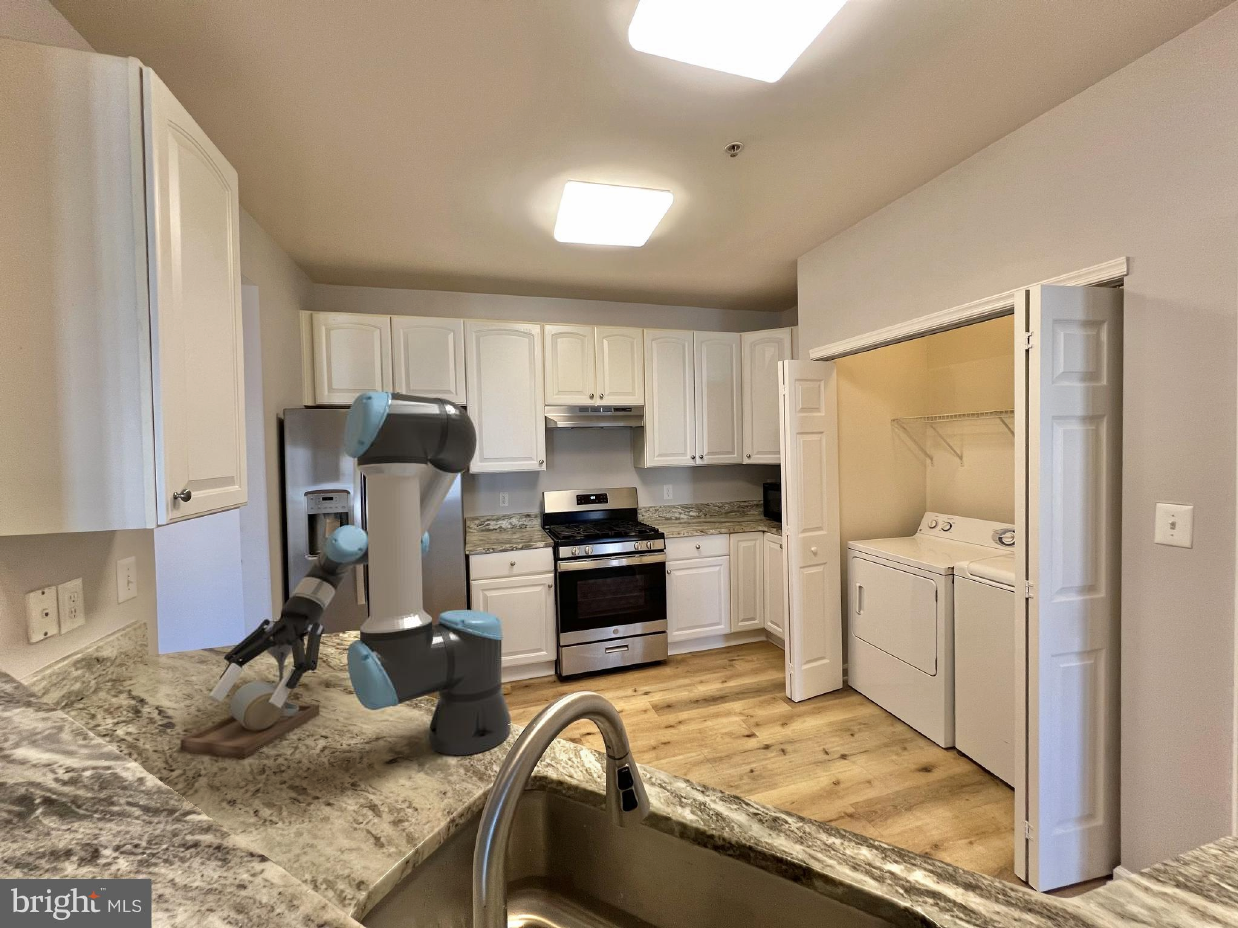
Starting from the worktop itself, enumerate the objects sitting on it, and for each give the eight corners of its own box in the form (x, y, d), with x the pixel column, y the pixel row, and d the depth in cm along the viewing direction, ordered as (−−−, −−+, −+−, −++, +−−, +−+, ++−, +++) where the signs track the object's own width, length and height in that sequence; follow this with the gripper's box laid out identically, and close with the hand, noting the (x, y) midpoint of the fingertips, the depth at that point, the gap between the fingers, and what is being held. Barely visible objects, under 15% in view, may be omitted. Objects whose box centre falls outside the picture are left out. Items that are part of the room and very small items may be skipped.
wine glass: (303, 687, 120) (304, 623, 121) (262, 696, 115) (263, 630, 115) (298, 677, 126) (298, 616, 127) (258, 685, 121) (259, 622, 121)
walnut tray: (319, 714, 106) (319, 704, 106) (244, 758, 90) (244, 747, 90) (263, 708, 109) (263, 699, 109) (180, 750, 93) (180, 739, 93)
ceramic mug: (243, 739, 94) (244, 697, 95) (228, 726, 99) (229, 686, 100) (305, 718, 103) (306, 679, 103) (289, 707, 108) (290, 670, 108)
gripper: (365, 615, 112) (311, 715, 97) (270, 609, 117) (204, 704, 102) (348, 596, 107) (288, 699, 92) (249, 591, 112) (177, 688, 97)
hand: (244, 702), depth 97 cm, fingers open, 13 cm apart
